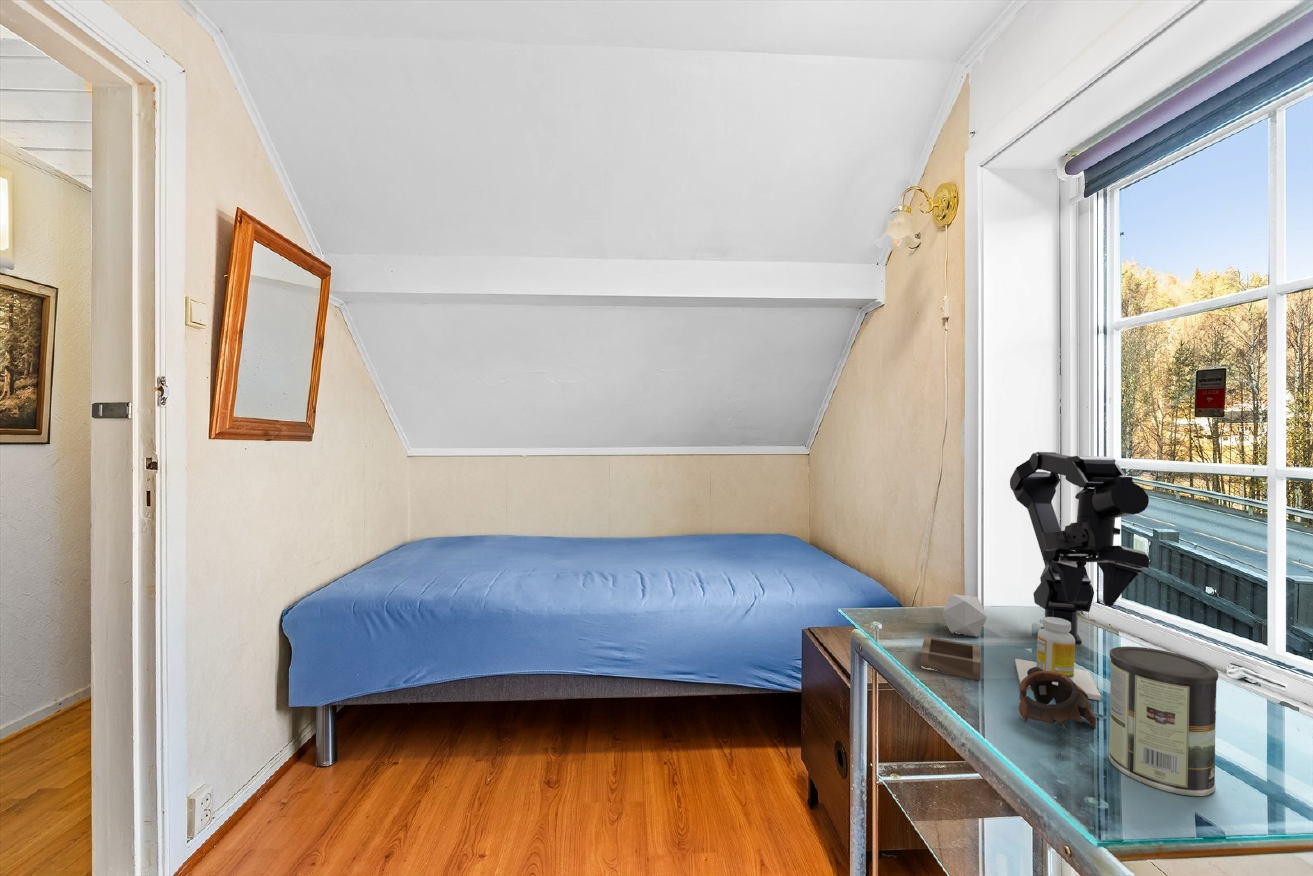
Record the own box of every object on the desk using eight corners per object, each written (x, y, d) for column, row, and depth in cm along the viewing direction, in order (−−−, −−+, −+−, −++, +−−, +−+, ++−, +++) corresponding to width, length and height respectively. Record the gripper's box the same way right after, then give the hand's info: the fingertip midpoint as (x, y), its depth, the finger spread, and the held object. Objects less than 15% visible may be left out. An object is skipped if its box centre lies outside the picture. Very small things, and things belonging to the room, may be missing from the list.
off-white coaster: (1015, 662, 107) (1015, 658, 107) (1088, 675, 101) (1088, 671, 101) (1019, 685, 97) (1019, 680, 97) (1100, 700, 92) (1101, 695, 92)
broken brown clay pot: (1118, 743, 80) (1101, 698, 78) (1051, 766, 82) (1033, 722, 80) (1063, 684, 92) (1047, 644, 90) (1004, 705, 93) (988, 666, 91)
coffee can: (1182, 756, 76) (1185, 650, 76) (1237, 804, 66) (1240, 683, 66) (1092, 743, 79) (1094, 641, 79) (1131, 788, 69) (1134, 671, 69)
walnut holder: (924, 651, 111) (924, 636, 111) (979, 661, 107) (979, 645, 107) (920, 668, 103) (921, 652, 103) (980, 680, 99) (980, 663, 99)
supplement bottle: (1030, 673, 100) (1032, 618, 100) (1044, 666, 103) (1045, 613, 103) (1066, 685, 96) (1068, 627, 95) (1079, 677, 99) (1081, 622, 98)
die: (987, 633, 124) (961, 592, 129) (1003, 626, 117) (975, 582, 121) (953, 647, 124) (928, 605, 128) (967, 640, 116) (940, 595, 121)
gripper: (1021, 514, 118) (1012, 590, 114) (1091, 505, 99) (1082, 595, 96) (1075, 527, 117) (1067, 604, 114) (1155, 521, 99) (1148, 612, 96)
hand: (1088, 603), depth 105 cm, fingers open, 9 cm apart
